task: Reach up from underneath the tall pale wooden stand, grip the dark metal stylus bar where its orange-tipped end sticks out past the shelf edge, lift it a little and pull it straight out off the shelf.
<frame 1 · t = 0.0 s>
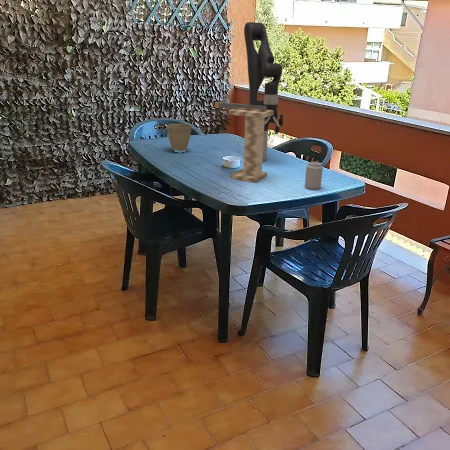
hand: (269, 134, 246), 17 cm above the table, tool pointing down, fingers open, 8 cm apart
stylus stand: (248, 177, 228), on the table
can: (312, 188, 214), on the table
plant pot: (179, 152, 279), on the table
stylus bar: (240, 109, 219), point 33 cm above the table, touching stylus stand
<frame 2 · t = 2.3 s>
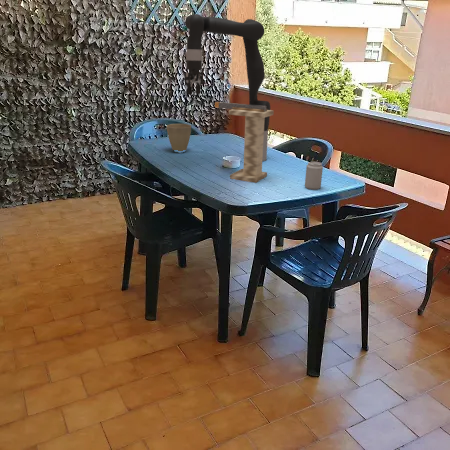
hand: (194, 94, 226), 39 cm above the table, tool pointing down, fingers open, 8 cm apart
nothing on the table moved.
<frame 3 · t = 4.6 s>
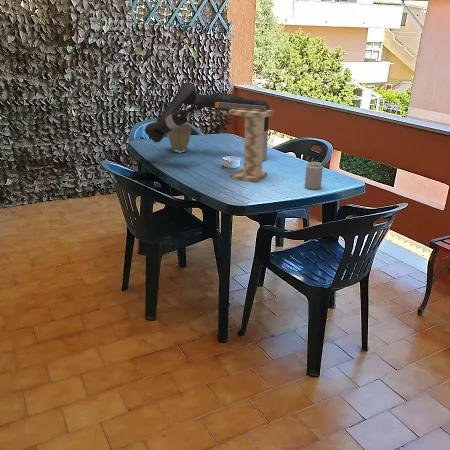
hand: (199, 105, 228), 33 cm above the table, tool pointing upward, fingers open, 8 cm apart
nothing on the table moved.
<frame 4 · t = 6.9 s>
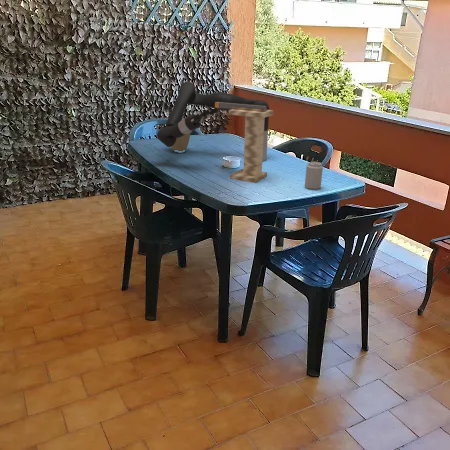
hand: (213, 110, 225), 31 cm above the table, tool pointing upward, fingers open, 8 cm apart
nothing on the table moved.
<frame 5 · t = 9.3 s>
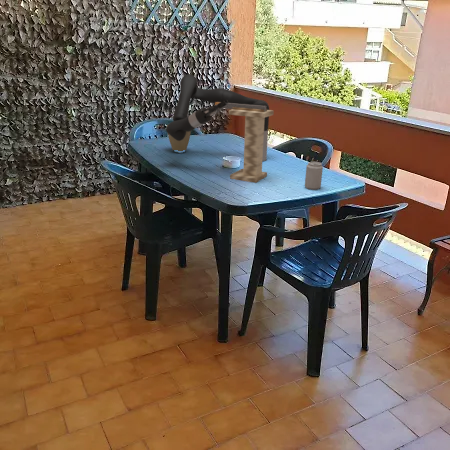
hand: (226, 102, 221), 36 cm above the table, tool pointing upward, fingers closed on stylus bar, 2 cm apart
stylus bar: (240, 109, 219), point 33 cm above the table, touching gripper, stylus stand
everything else where it was.
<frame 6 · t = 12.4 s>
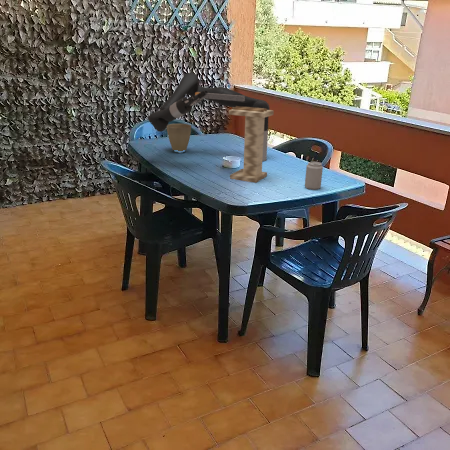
hand: (206, 92, 224), 40 cm above the table, tool pointing upward, fingers closed on stylus bar, 2 cm apart
stylus bar: (219, 99, 222), point 37 cm above the table, touching gripper
everything else where it was.
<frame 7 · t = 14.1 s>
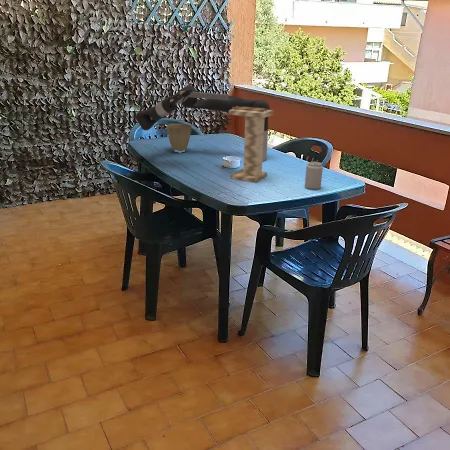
hand: (190, 91, 228), 40 cm above the table, tool pointing upward, fingers closed on stylus bar, 2 cm apart
stylus bar: (203, 98, 225), point 37 cm above the table, touching gripper
everything else where it was.
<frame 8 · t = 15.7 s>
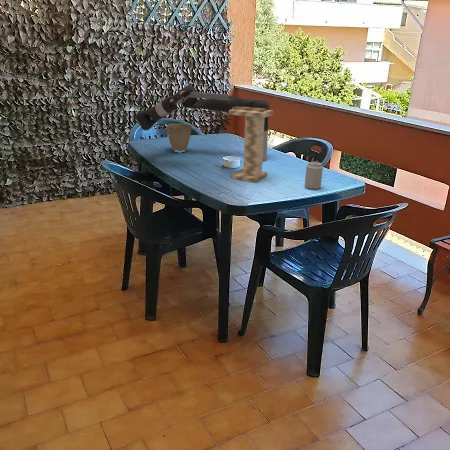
hand: (190, 91, 228), 40 cm above the table, tool pointing upward, fingers closed on stylus bar, 2 cm apart
stylus bar: (203, 98, 225), point 37 cm above the table, touching gripper
everything else where it was.
at the end: the gripper is holding stylus bar; stylus bar moved 20.4 cm from its start; stylus bar touching gripper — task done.
